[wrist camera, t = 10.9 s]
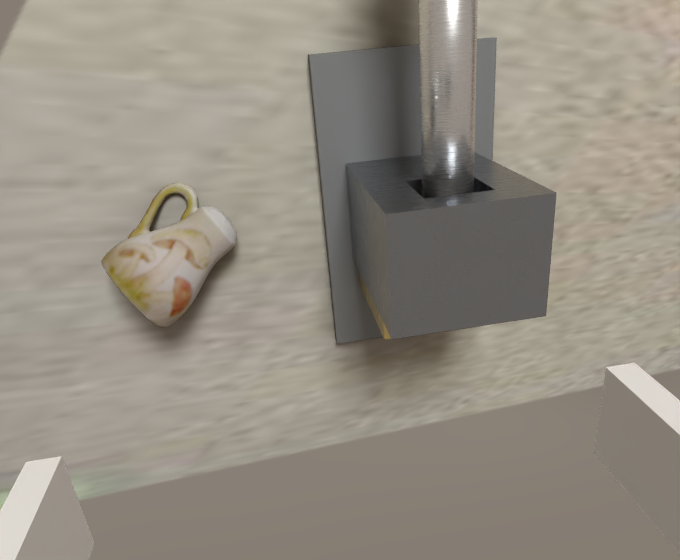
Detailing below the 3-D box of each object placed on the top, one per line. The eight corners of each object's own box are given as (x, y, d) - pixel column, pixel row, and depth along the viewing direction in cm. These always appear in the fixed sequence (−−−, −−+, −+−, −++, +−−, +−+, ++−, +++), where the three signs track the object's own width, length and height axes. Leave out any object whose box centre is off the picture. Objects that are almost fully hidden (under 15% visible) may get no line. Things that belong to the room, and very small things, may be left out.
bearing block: (350, 254, 47) (391, 339, 33) (343, 160, 43) (385, 214, 30) (463, 239, 48) (546, 316, 34) (464, 147, 44) (556, 192, 31)
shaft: (400, 251, 39) (421, 281, 34) (383, -172, 29) (410, -214, 24) (470, 242, 39) (501, 269, 34) (478, -177, 29) (522, -218, 25)
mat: (335, 338, 50) (337, 343, 49) (308, 54, 40) (309, 55, 39) (482, 316, 51) (486, 321, 50) (491, 37, 41) (496, 37, 40)
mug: (264, 235, 45) (230, 332, 39) (175, 259, 49) (131, 351, 43) (211, 165, 41) (162, 263, 34) (117, 199, 45) (58, 291, 38)
